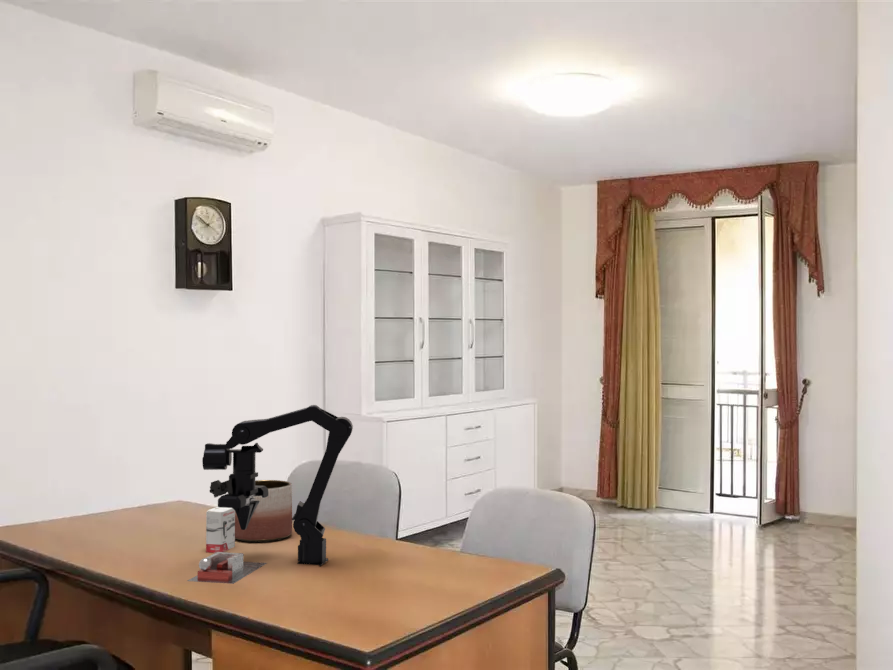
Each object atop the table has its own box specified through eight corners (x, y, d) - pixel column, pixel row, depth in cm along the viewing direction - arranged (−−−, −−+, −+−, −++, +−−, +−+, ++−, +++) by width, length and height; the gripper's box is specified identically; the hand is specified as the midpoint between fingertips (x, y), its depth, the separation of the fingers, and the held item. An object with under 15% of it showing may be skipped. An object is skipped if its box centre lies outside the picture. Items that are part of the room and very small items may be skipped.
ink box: (221, 555, 232) (221, 511, 232) (205, 554, 233) (205, 511, 233) (235, 547, 240) (235, 506, 240) (219, 547, 241) (219, 505, 241)
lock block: (243, 571, 212) (243, 553, 213) (232, 577, 207) (232, 559, 207) (217, 569, 214) (217, 551, 214) (205, 576, 208) (206, 557, 208)
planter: (280, 544, 244) (280, 489, 244) (221, 542, 247) (221, 488, 247) (300, 531, 262) (300, 480, 262) (245, 529, 264) (245, 479, 265)
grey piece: (267, 564, 221) (267, 543, 221) (233, 585, 201) (233, 562, 201) (224, 562, 223) (224, 541, 223) (186, 582, 204) (186, 559, 204)
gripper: (230, 464, 232) (230, 521, 232) (198, 473, 214) (198, 535, 214) (269, 465, 230) (268, 522, 230) (240, 475, 212) (239, 537, 212)
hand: (243, 529), depth 221 cm, fingers closed
